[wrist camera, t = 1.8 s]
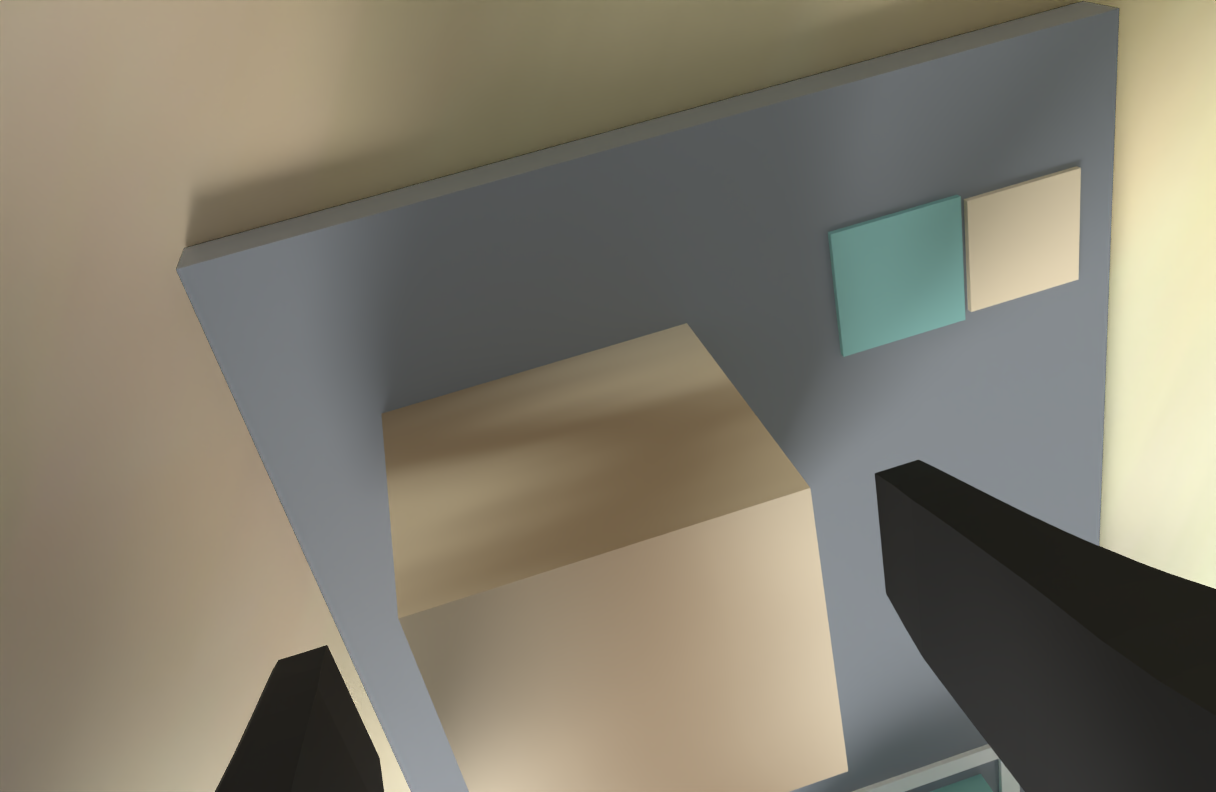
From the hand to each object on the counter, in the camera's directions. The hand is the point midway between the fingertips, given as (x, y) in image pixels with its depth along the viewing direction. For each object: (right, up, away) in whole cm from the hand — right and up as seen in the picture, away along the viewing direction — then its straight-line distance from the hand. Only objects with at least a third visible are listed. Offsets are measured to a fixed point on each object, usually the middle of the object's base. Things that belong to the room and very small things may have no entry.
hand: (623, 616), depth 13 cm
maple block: (-1, +1, +3) cm, 3 cm away
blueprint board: (+3, -3, +7) cm, 7 cm away
